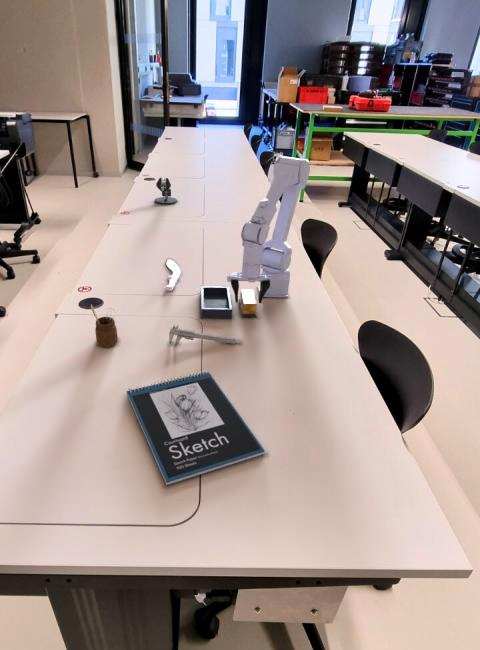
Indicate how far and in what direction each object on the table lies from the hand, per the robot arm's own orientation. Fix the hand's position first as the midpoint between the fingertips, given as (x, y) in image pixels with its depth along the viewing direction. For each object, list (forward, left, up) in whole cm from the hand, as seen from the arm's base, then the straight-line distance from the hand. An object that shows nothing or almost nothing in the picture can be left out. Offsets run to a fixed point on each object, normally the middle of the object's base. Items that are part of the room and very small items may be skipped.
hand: (248, 301), depth 142 cm
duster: (0, 0, -3) cm, 3 cm away
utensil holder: (+42, +21, -3) cm, 47 cm away
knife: (+26, -27, -3) cm, 38 cm away
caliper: (+14, +21, -3) cm, 26 cm away
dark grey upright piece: (+33, -125, -3) cm, 130 cm away
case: (+10, -2, -3) cm, 11 cm away
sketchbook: (+18, +54, -3) cm, 57 cm away
